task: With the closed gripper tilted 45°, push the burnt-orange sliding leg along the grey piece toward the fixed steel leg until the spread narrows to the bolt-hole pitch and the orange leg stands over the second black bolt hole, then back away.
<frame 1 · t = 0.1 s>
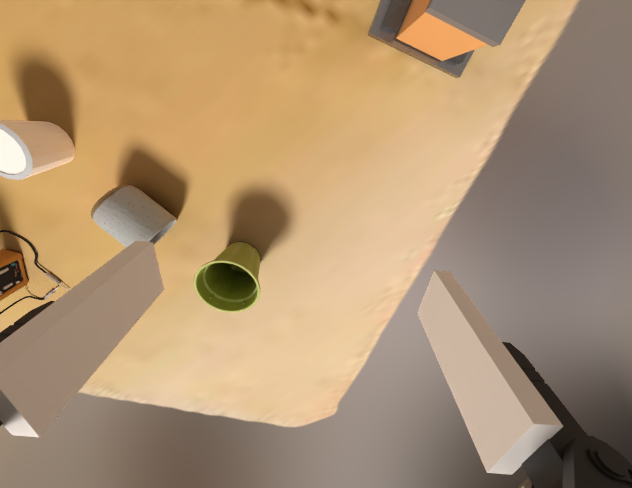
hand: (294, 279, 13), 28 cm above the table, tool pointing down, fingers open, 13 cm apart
multimeter: (40, 270, 47), on the table
ceramic mug: (148, 216, 42), on the table
plant pot: (243, 256, 45), on the table
shot glass: (55, 143, 37), on the table
orange divider leg: (454, 6, 24), point 7 cm above the table, slide at 0.0 cm
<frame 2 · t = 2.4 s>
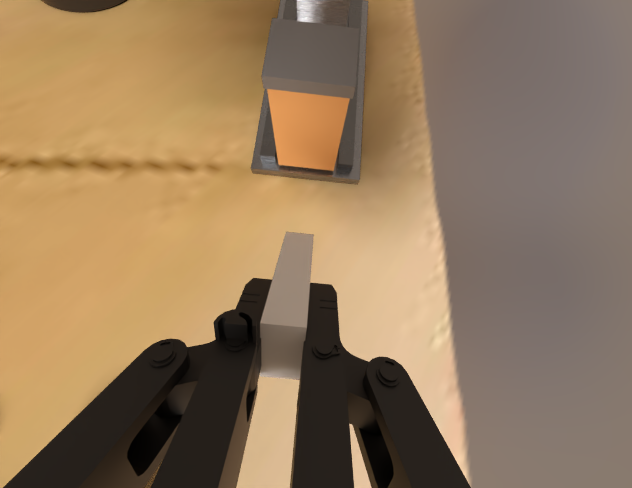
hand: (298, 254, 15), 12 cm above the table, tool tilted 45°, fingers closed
grey piece: (316, 81, 33), on the table
orange divider leg: (309, 110, 24), point 7 cm above the table, slide at 0.0 cm
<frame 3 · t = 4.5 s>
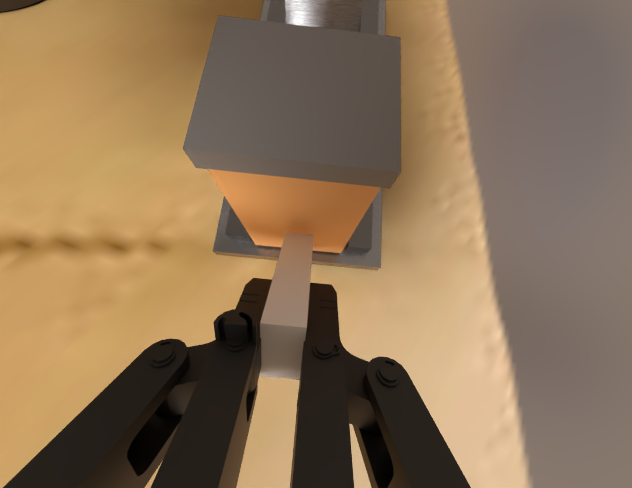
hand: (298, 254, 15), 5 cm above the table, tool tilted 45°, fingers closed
grey piece: (314, 110, 23), on the table
orange divider leg: (302, 176, 14), point 7 cm above the table, slide at 0.2 cm, touching gripper
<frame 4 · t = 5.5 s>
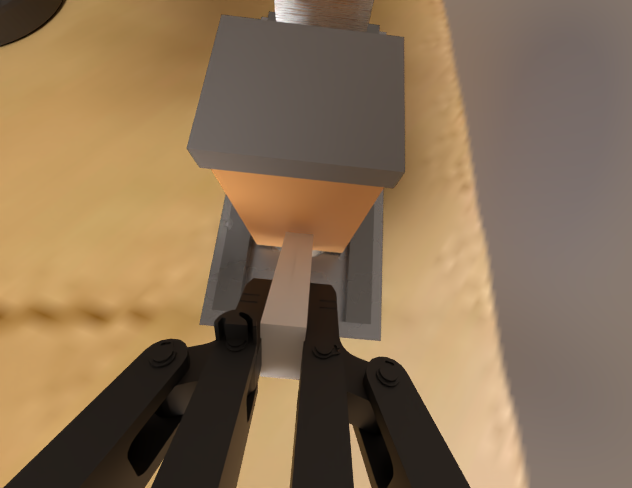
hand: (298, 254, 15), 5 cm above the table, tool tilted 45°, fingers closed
grey piece: (310, 157, 22), on the table
orange divider leg: (304, 176, 14), point 7 cm above the table, slide at 5.1 cm, touching gripper
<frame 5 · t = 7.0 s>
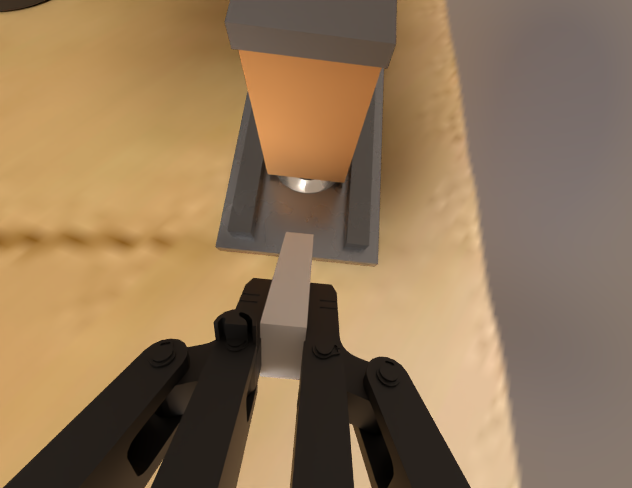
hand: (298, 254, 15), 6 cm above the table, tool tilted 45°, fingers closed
grey piece: (314, 110, 24), on the table
orange divider leg: (312, 95, 16), point 7 cm above the table, slide at 5.6 cm
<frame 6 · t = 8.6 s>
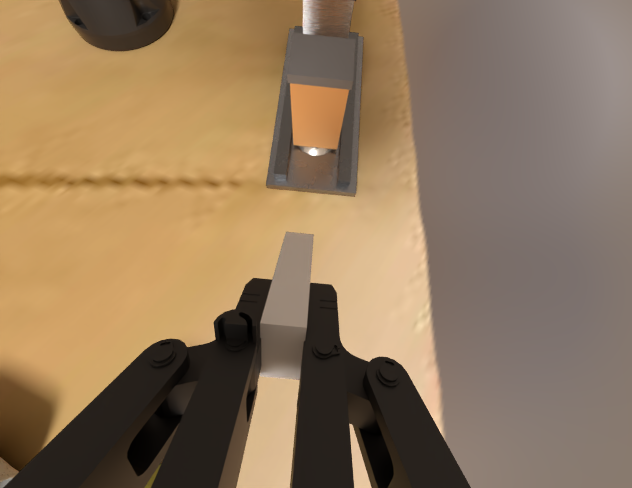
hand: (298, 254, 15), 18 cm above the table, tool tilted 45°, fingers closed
grey piece: (319, 108, 39), on the table
orange divider leg: (319, 100, 31), point 7 cm above the table, slide at 5.6 cm
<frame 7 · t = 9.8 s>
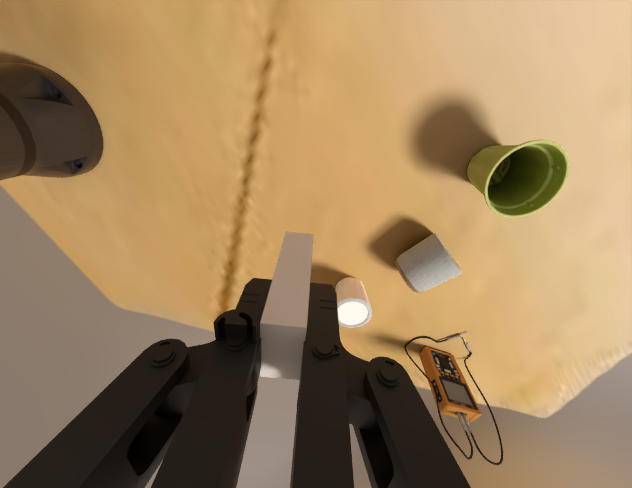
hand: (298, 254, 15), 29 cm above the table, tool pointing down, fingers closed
multimeter: (443, 342, 57), on the table
ceramic mug: (424, 256, 47), on the table
plant pot: (487, 166, 39), on the table
shot glass: (349, 288, 51), on the table
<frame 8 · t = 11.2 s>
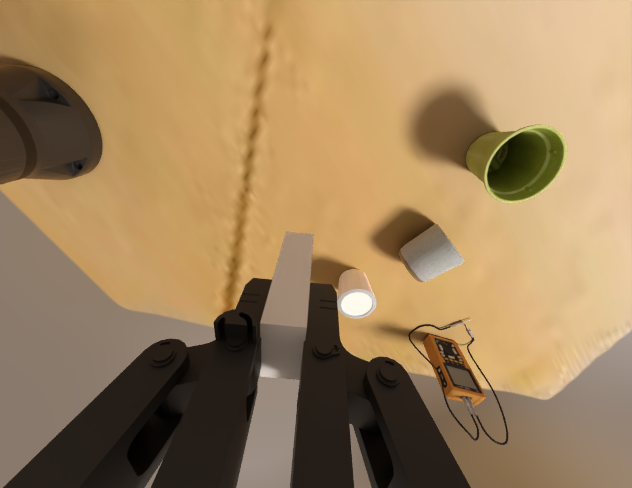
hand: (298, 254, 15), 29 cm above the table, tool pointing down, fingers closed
multimeter: (446, 329, 58), on the table
ceramic mug: (427, 247, 48), on the table
plant pot: (485, 153, 40), on the table
shot glass: (352, 279, 52), on the table
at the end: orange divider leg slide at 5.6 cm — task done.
